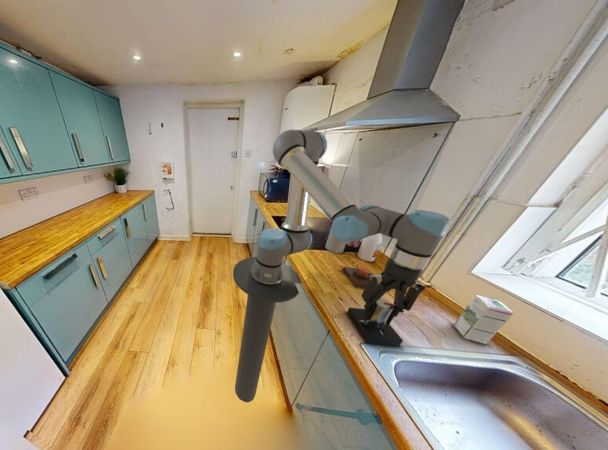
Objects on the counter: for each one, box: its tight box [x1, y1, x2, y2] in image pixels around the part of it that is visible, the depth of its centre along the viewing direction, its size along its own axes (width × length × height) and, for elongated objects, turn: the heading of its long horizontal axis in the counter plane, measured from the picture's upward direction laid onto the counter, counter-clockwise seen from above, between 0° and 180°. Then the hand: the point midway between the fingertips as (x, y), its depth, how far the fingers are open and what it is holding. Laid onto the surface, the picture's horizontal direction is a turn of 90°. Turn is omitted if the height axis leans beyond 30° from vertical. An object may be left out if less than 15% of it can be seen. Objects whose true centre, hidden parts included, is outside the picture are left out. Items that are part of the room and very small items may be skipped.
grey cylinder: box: [324, 227, 347, 254], centre depth 116 cm, size 10×10×12 cm
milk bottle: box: [357, 233, 383, 262], centre depth 106 cm, size 8×8×20 cm
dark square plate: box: [342, 266, 380, 289], centre depth 93 cm, size 12×10×4 cm
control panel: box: [346, 307, 404, 348], centre depth 68 cm, size 12×10×3 cm
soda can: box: [346, 240, 361, 248], centre depth 120 cm, size 6×6×12 cm
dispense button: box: [357, 266, 370, 276], centre depth 91 cm, size 4×4×2 cm
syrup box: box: [453, 294, 515, 345], centre depth 65 cm, size 6×6×14 cm
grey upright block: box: [365, 297, 394, 329], centre depth 66 cm, size 5×5×9 cm
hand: (375, 319), depth 67 cm, fingers closed on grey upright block, 5 cm apart
